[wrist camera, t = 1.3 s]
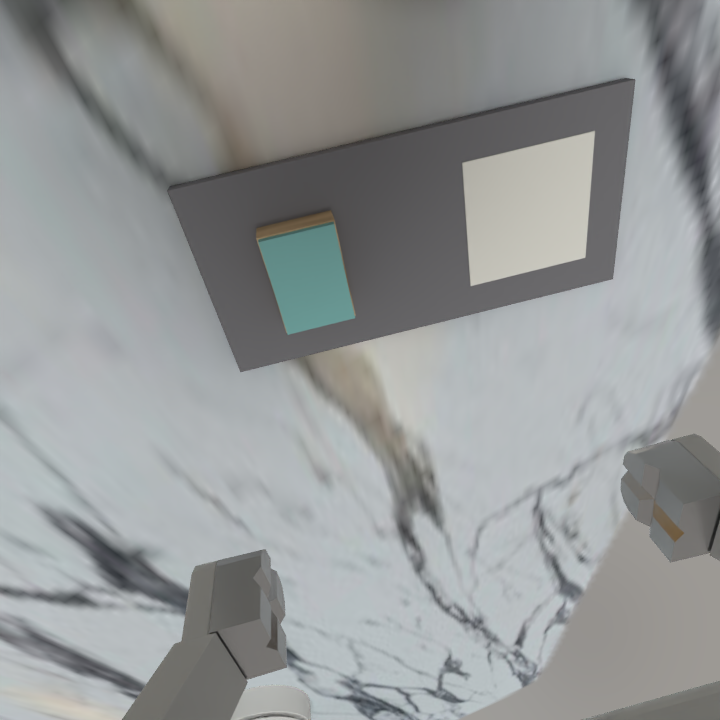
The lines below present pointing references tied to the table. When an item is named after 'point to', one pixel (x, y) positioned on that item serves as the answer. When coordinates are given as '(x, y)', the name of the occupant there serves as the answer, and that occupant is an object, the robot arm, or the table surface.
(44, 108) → the table surface
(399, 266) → the rubber mat
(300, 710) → the honey pot
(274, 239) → the teal flat block
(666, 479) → the robot arm
